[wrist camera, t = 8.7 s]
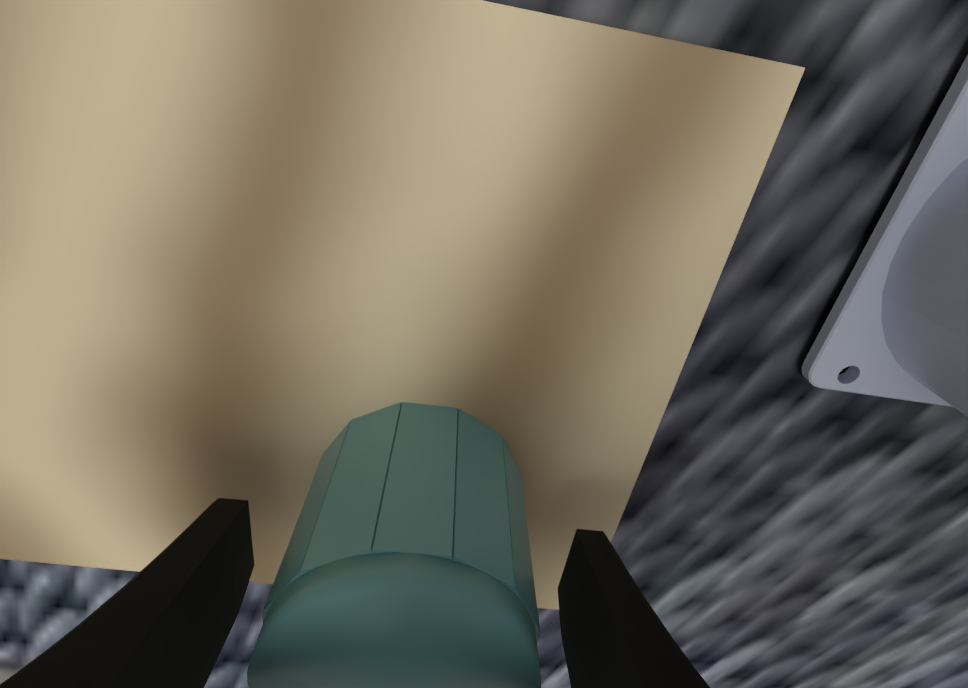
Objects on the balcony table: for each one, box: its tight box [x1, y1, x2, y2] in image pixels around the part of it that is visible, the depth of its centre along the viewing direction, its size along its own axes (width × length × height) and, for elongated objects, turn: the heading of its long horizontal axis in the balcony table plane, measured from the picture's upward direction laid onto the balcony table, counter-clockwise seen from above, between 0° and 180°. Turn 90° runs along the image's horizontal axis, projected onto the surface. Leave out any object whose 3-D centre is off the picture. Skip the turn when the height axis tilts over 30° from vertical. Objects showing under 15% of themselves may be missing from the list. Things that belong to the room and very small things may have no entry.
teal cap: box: [247, 402, 541, 688], centre depth 11 cm, size 5×5×5 cm
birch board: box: [0, 0, 805, 610], centre depth 12 cm, size 19×15×1 cm
